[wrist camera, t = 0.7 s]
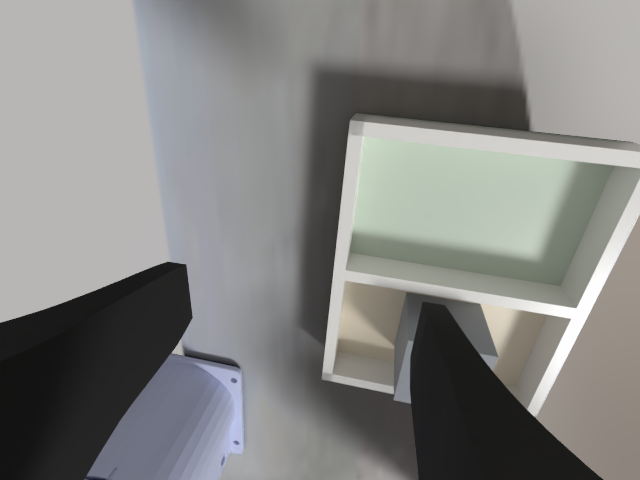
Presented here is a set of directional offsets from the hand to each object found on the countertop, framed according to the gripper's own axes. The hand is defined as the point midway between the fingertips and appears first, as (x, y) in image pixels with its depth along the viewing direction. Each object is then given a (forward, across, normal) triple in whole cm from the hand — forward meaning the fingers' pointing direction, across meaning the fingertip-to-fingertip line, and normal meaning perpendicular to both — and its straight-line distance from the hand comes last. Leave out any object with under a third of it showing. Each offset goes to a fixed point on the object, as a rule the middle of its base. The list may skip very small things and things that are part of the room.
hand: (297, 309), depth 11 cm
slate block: (+9, -6, +7) cm, 13 cm away
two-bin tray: (+10, -6, +3) cm, 12 cm away
